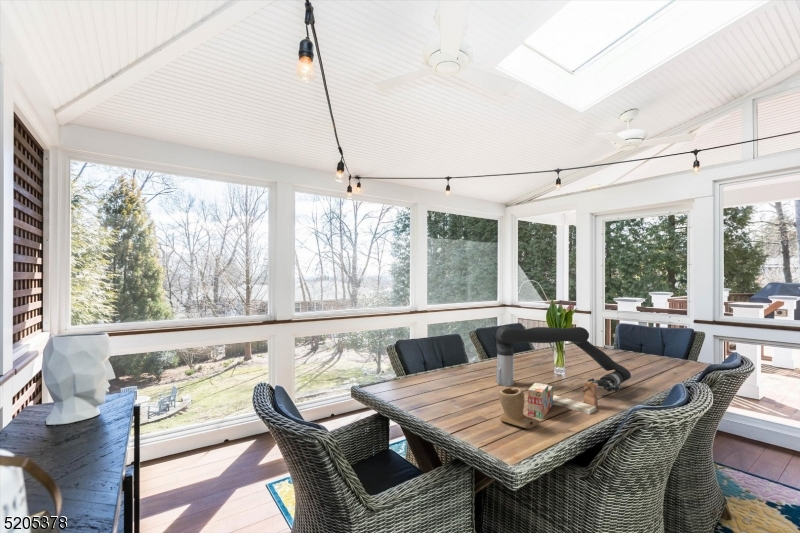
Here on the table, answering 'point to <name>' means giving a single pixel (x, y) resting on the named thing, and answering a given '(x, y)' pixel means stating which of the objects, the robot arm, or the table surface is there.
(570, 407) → the board
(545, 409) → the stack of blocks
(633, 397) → the table surface
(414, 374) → the table surface
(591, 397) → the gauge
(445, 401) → the table surface
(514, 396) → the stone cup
